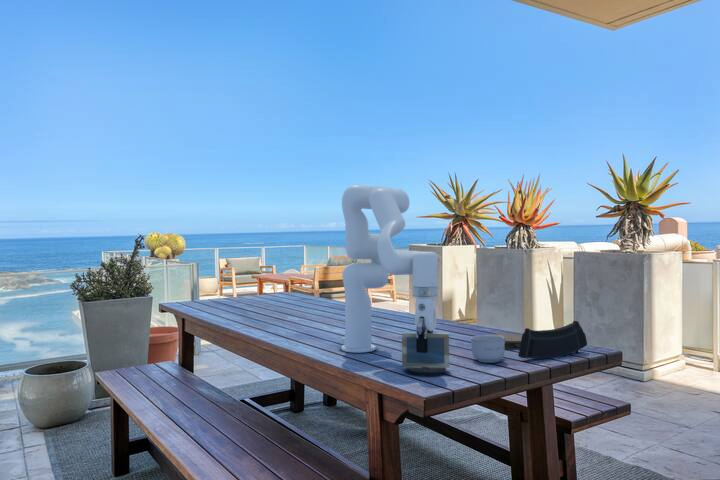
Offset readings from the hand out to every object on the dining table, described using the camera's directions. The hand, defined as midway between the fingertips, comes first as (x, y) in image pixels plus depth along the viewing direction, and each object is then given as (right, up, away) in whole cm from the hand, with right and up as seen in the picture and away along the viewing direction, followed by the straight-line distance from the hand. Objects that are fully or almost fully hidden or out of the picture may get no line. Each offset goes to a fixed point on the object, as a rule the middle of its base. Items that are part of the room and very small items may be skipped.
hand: (425, 349), depth 151 cm
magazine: (+46, -7, +20) cm, 51 cm away
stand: (0, -7, 0) cm, 7 cm away
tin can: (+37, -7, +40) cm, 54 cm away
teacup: (+23, -7, +14) cm, 28 cm away
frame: (0, -5, +1) cm, 5 cm away
